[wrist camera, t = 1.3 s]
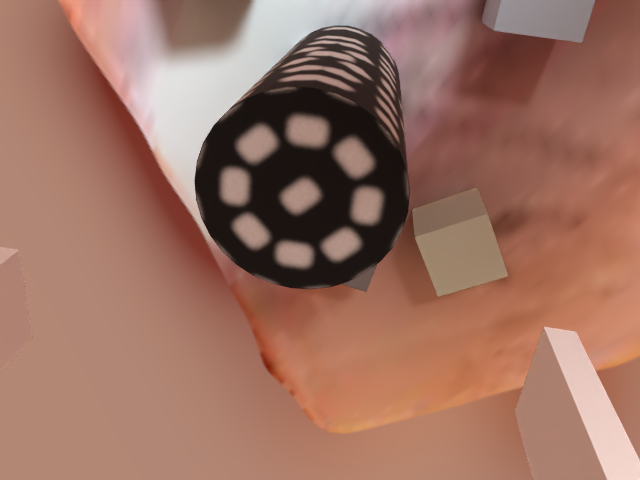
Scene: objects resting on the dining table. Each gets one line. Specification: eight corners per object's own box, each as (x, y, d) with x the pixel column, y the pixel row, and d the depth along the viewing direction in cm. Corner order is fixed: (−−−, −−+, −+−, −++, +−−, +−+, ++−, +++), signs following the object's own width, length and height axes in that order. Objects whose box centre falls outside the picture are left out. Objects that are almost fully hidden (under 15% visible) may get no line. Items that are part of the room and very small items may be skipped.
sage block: (411, 208, 44) (414, 237, 39) (477, 186, 42) (487, 213, 38) (433, 263, 45) (437, 297, 41) (496, 243, 44) (508, 276, 40)
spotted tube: (351, -3, 37) (317, 36, 20) (424, 100, 40) (453, 218, 22) (256, 77, 40) (151, 174, 22) (329, 168, 43) (287, 322, 25)
